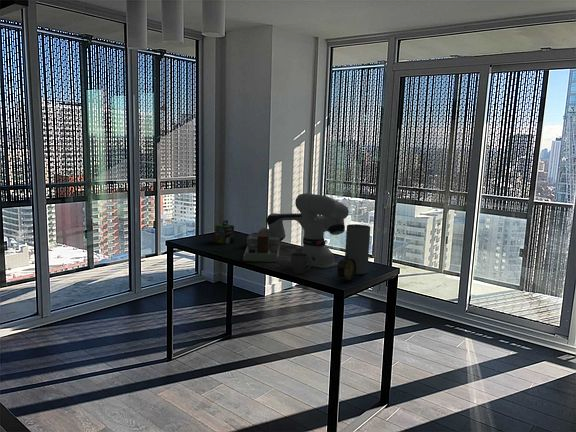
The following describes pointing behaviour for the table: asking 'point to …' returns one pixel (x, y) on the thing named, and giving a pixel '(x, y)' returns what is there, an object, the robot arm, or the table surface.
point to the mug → (300, 262)
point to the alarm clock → (346, 268)
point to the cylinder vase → (358, 246)
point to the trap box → (261, 254)
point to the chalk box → (224, 233)
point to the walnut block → (263, 242)
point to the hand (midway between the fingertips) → (262, 243)
